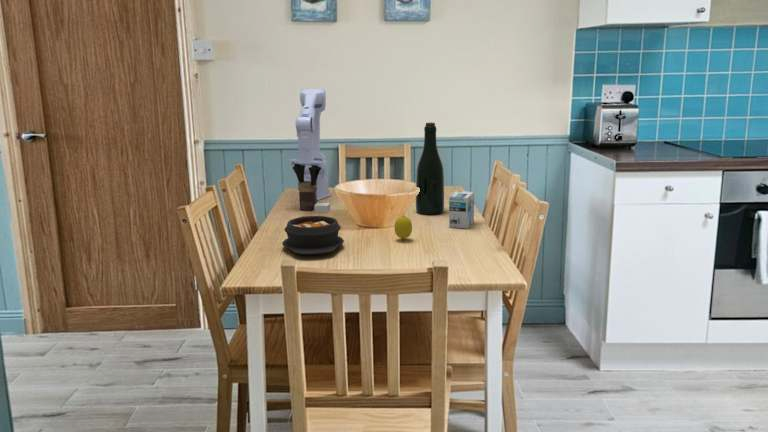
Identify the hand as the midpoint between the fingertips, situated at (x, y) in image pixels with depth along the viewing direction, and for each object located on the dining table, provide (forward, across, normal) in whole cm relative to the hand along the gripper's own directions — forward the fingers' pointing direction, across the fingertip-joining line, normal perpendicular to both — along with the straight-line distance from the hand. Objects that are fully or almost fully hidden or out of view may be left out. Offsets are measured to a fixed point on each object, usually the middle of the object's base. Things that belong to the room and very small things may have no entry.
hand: (307, 184), depth 247 cm
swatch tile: (+9, 0, +8) cm, 13 cm away
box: (+10, 0, 0) cm, 10 cm away
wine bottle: (+10, +44, +15) cm, 47 cm away
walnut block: (+2, 0, 0) cm, 2 cm away
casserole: (+10, +31, -43) cm, 54 cm away
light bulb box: (+10, +61, +3) cm, 62 cm away
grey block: (+10, +7, -1) cm, 12 cm away
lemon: (+10, +52, -23) cm, 58 cm away
